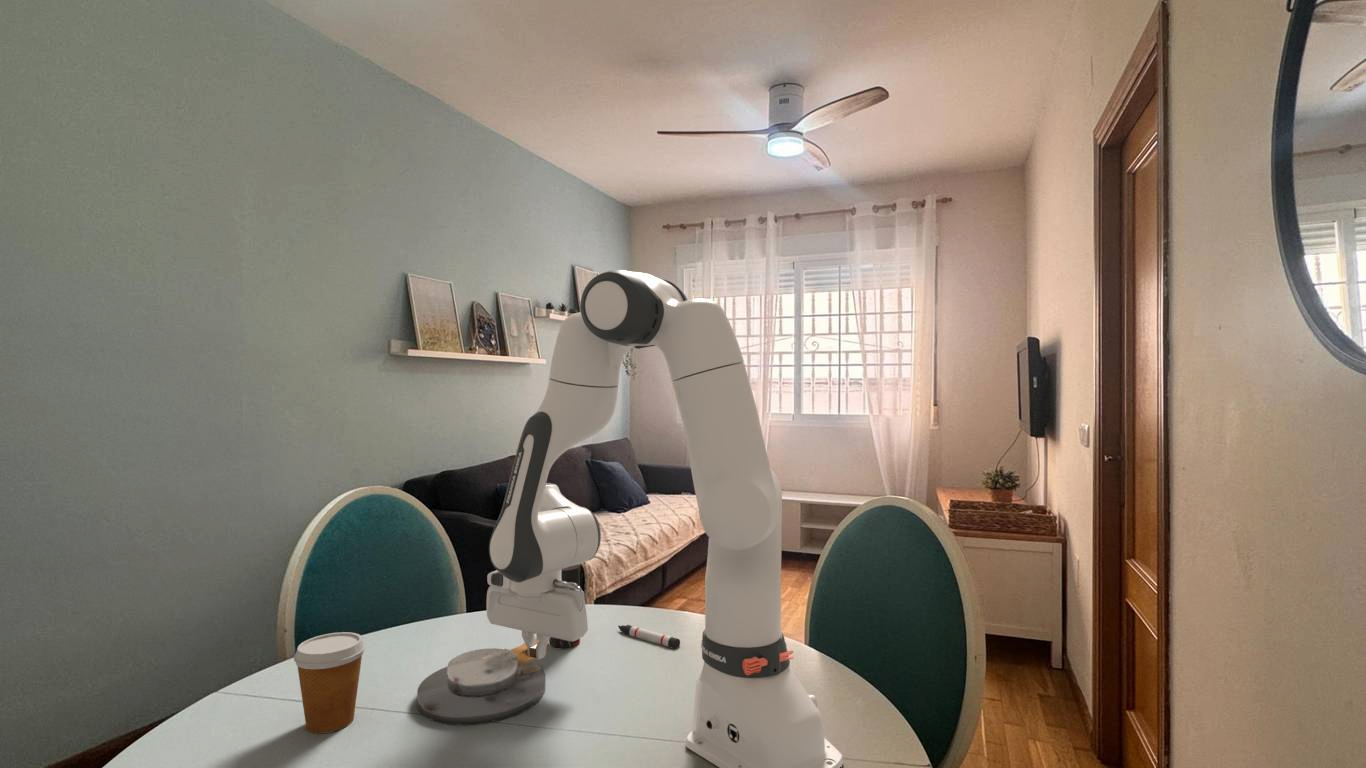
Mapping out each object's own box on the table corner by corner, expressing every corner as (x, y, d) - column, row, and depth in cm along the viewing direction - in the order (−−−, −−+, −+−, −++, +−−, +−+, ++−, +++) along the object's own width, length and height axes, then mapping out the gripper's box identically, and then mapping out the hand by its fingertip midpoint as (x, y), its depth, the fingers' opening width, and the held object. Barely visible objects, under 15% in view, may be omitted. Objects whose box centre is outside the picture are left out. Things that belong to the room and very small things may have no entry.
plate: (562, 704, 105) (562, 689, 105) (428, 738, 95) (428, 722, 95) (525, 659, 122) (525, 647, 122) (408, 684, 112) (408, 670, 112)
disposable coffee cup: (316, 746, 93) (316, 660, 93) (280, 728, 98) (280, 646, 98) (378, 717, 101) (378, 638, 101) (342, 702, 106) (342, 626, 106)
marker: (680, 647, 129) (680, 637, 129) (674, 650, 127) (674, 640, 127) (621, 630, 138) (621, 620, 138) (614, 633, 136) (614, 623, 136)
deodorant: (577, 649, 127) (576, 570, 127) (546, 649, 127) (546, 570, 127) (582, 637, 133) (582, 562, 133) (552, 637, 133) (552, 562, 133)
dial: (477, 702, 101) (477, 679, 101) (433, 683, 107) (433, 662, 107) (564, 660, 116) (564, 641, 116) (521, 646, 122) (521, 628, 122)
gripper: (595, 579, 113) (595, 661, 113) (505, 565, 123) (506, 640, 123) (571, 589, 107) (572, 675, 107) (480, 573, 117) (480, 652, 117)
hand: (536, 656), depth 115 cm, fingers closed
